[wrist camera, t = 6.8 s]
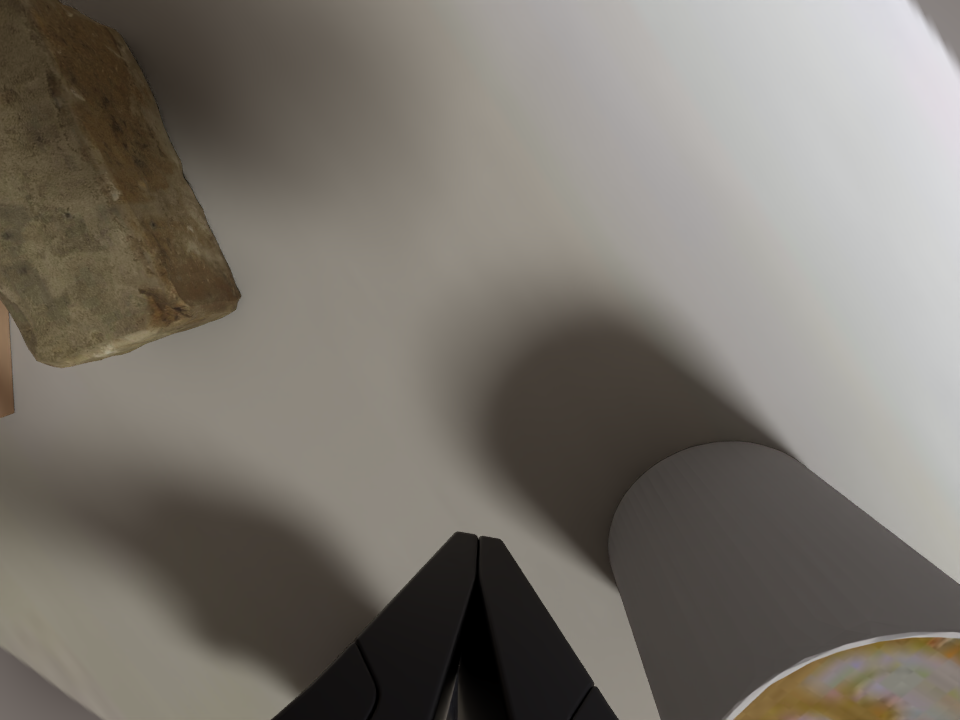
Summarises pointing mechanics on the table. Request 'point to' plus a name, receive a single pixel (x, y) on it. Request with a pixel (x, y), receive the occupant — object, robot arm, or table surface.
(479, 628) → the robot arm
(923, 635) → the coffee mug
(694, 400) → the table surface
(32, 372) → the table surface
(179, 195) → the stone block
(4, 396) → the wooden furniture piece
